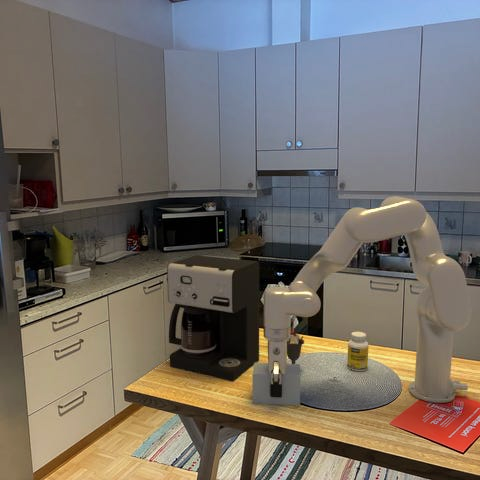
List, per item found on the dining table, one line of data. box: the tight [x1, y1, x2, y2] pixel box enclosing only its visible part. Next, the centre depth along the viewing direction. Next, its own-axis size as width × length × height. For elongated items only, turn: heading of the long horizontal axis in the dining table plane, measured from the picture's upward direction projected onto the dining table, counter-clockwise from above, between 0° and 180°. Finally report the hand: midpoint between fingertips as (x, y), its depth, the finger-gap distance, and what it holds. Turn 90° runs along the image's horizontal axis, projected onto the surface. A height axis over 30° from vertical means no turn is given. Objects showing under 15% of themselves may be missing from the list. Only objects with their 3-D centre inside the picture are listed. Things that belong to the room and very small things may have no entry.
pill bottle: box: [346, 331, 370, 372], centre depth 158 cm, size 6×6×12 cm
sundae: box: [287, 328, 305, 372], centre depth 156 cm, size 7×7×15 cm
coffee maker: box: [166, 254, 260, 382], centre depth 161 cm, size 28×20×35 cm
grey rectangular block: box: [252, 362, 301, 406], centre depth 138 cm, size 13×8×9 cm, turn 85°
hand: (276, 388), depth 138 cm, fingers open, 9 cm apart
